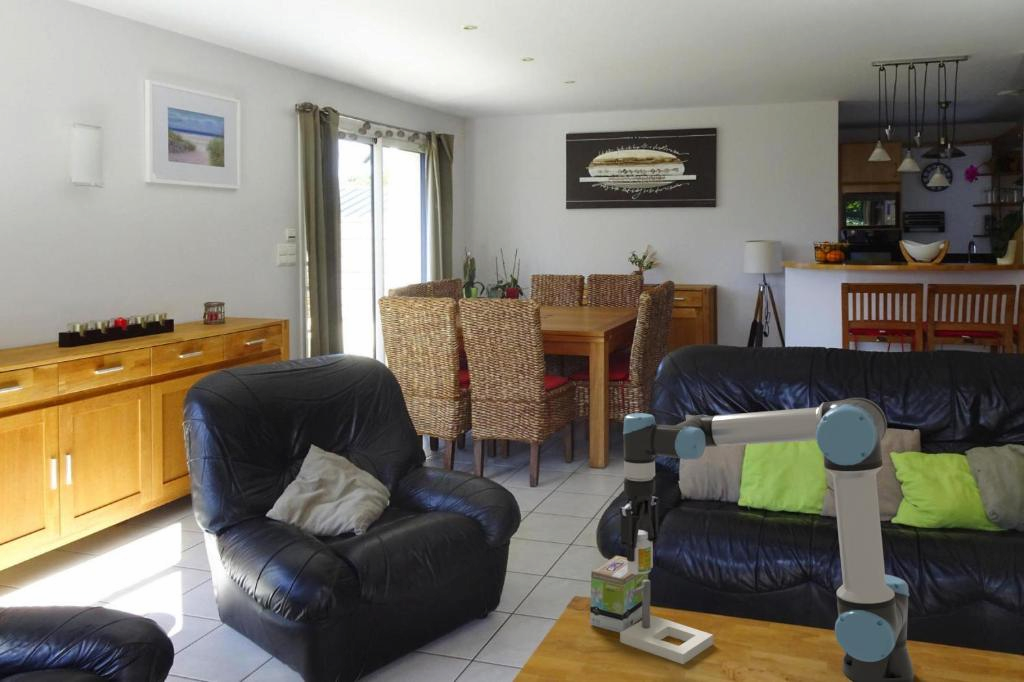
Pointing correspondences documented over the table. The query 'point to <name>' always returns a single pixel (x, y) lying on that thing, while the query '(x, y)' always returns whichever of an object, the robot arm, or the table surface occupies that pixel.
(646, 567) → the supplement bottle
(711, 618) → the table surface
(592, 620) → the tea box
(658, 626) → the white square-hole base
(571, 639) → the table surface
